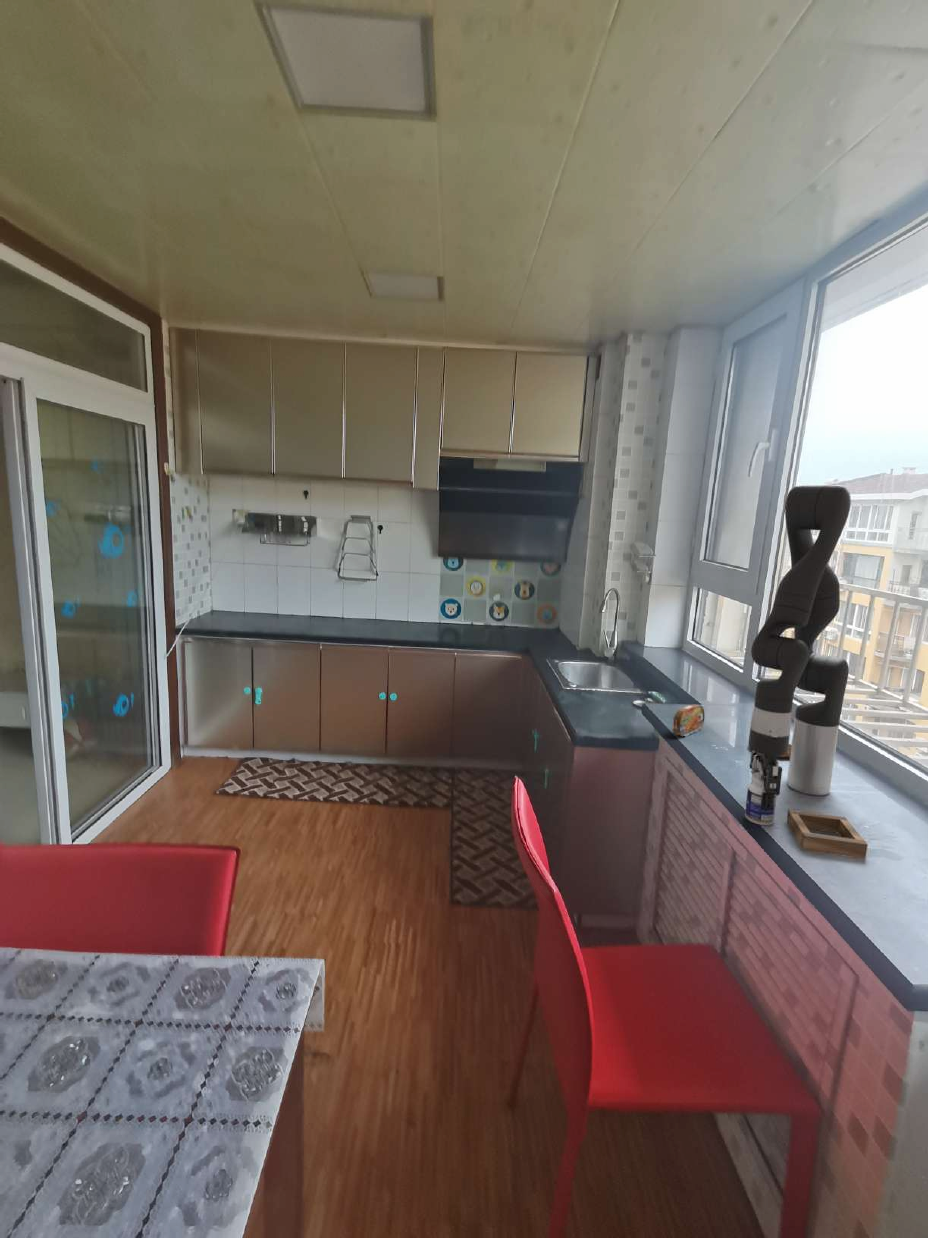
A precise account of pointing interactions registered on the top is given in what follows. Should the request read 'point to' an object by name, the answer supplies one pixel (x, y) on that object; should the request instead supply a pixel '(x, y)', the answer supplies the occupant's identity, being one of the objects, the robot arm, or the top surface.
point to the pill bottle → (758, 803)
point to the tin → (688, 719)
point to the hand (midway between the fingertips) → (761, 800)
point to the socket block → (842, 845)
